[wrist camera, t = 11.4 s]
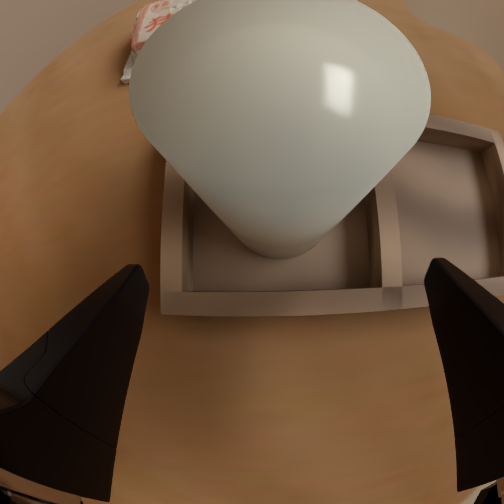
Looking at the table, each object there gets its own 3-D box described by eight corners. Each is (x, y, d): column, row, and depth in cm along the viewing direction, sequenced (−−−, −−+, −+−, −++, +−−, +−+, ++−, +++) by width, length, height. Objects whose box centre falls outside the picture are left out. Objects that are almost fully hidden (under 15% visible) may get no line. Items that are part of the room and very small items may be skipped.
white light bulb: (262, 279, 16) (218, 273, 4) (209, 192, 17) (102, 52, 5) (350, 223, 16) (477, 111, 4) (293, 143, 16) (305, -31, 5)
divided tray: (501, 291, 15) (526, 290, 12) (179, 309, 17) (160, 314, 14) (480, 146, 16) (499, 132, 13) (185, 133, 18) (172, 110, 15)
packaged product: (327, -22, 15) (345, 36, 14) (323, 13, 20) (334, 78, 19) (136, -6, 16) (99, 57, 15) (150, 24, 21) (124, 88, 20)
